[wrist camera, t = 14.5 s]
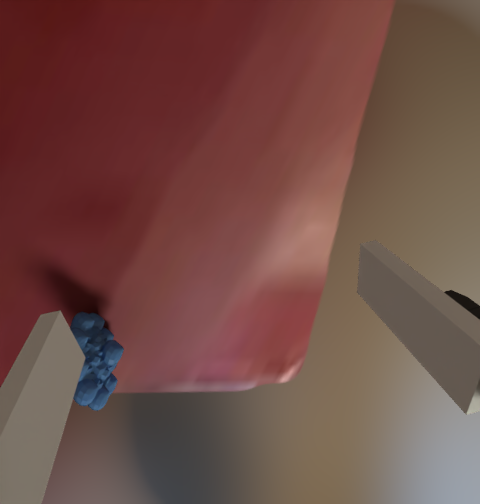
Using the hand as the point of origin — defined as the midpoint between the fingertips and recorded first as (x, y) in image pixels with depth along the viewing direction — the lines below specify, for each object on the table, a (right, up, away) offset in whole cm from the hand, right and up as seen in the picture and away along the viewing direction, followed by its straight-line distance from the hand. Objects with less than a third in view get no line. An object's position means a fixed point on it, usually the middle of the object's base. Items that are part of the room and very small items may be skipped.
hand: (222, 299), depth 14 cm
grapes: (-19, -9, +33) cm, 39 cm away
